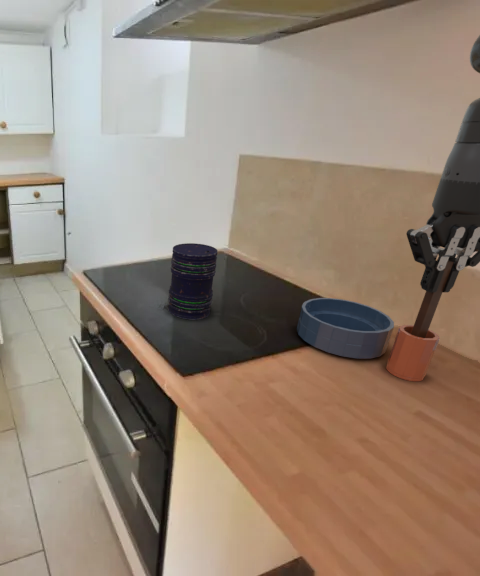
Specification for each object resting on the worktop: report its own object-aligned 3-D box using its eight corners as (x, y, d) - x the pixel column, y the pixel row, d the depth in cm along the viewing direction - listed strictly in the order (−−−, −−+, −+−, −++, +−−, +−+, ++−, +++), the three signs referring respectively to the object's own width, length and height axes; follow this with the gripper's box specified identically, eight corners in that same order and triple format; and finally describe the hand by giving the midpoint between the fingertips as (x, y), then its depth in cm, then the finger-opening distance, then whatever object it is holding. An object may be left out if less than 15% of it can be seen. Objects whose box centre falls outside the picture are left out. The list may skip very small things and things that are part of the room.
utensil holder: (408, 364, 68) (422, 324, 65) (431, 381, 64) (448, 340, 61) (379, 364, 68) (392, 324, 65) (400, 381, 64) (415, 340, 61)
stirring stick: (414, 358, 66) (451, 259, 59) (421, 362, 64) (459, 261, 57) (397, 358, 66) (432, 259, 59) (403, 362, 64) (439, 261, 57)
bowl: (352, 322, 83) (359, 297, 81) (404, 361, 69) (415, 332, 67) (283, 322, 83) (288, 297, 81) (321, 361, 69) (328, 332, 67)
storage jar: (160, 312, 88) (164, 250, 82) (177, 298, 96) (182, 241, 90) (202, 323, 83) (209, 258, 77) (216, 307, 90) (224, 247, 85)
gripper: (450, 180, 50) (409, 300, 57) (554, 180, 50) (500, 300, 57) (407, 174, 57) (375, 282, 64) (498, 174, 57) (456, 282, 64)
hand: (434, 290), depth 60 cm, fingers closed on stirring stick, 1 cm apart
